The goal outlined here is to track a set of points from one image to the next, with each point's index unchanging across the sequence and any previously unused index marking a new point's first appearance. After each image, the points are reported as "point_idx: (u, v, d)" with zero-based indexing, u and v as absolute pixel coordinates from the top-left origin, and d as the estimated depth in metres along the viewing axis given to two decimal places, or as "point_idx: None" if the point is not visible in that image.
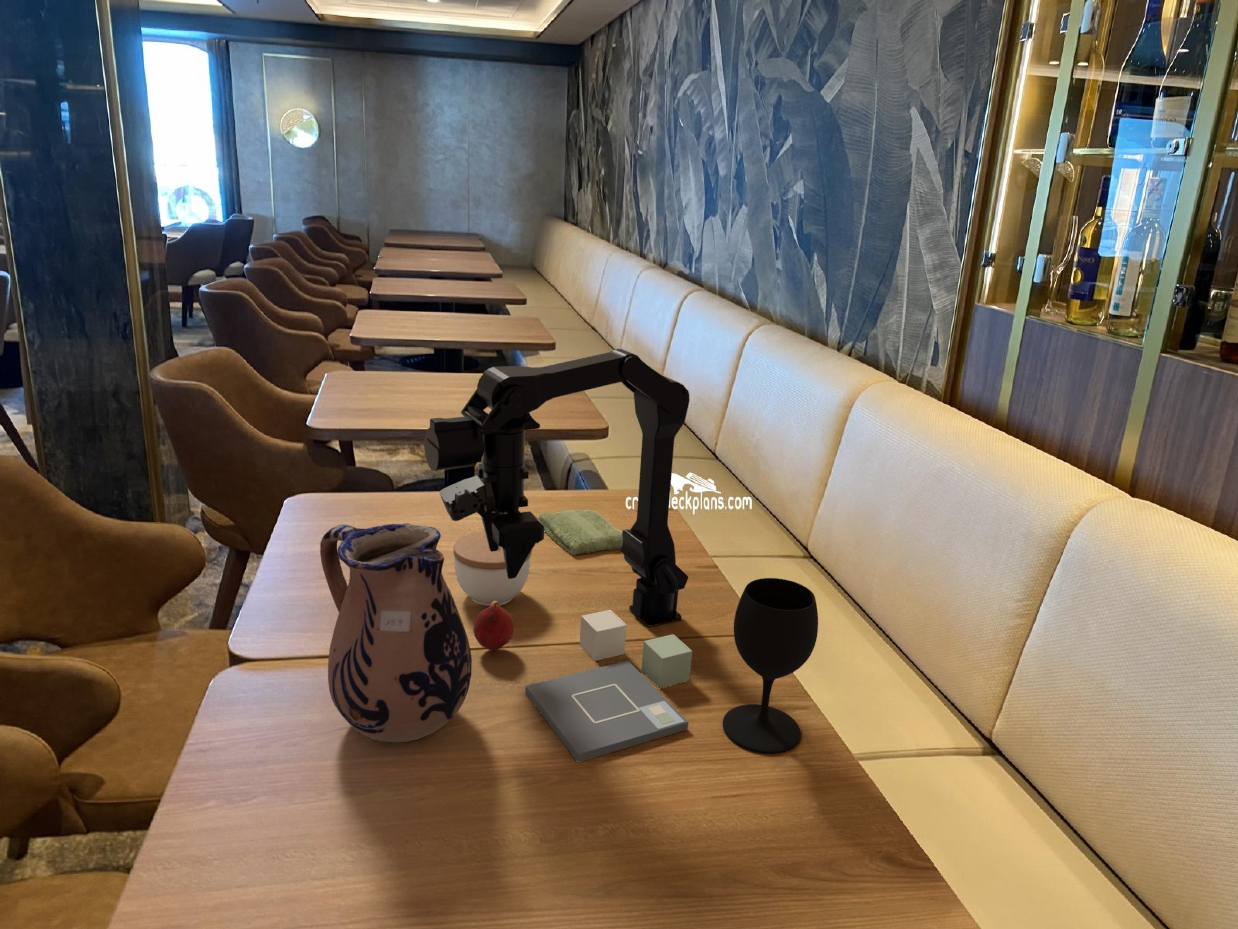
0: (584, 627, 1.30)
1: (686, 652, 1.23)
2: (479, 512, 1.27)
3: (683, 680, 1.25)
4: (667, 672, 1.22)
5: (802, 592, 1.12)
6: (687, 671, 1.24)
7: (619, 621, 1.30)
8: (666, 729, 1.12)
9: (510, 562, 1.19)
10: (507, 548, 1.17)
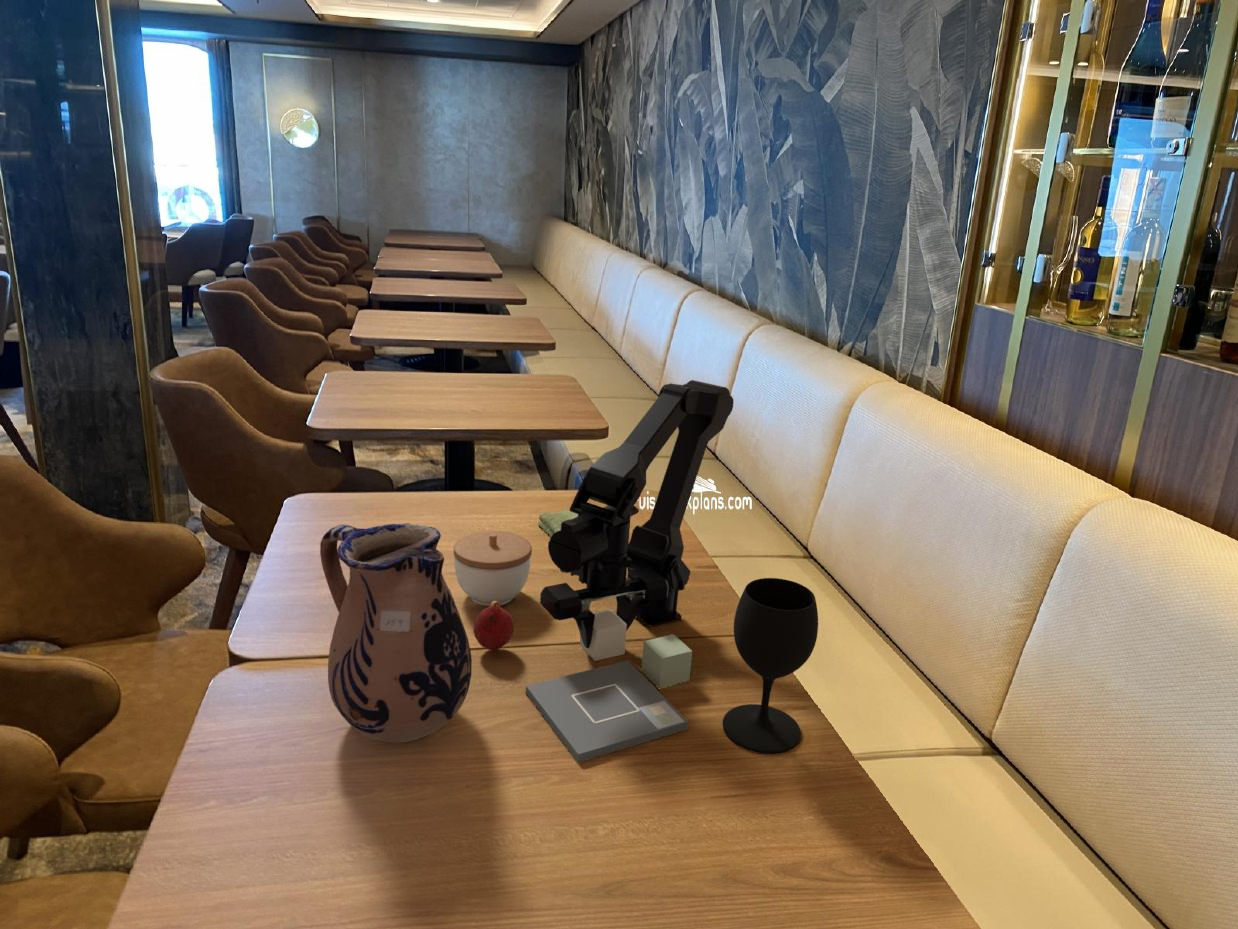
0: None
1: (686, 652, 1.23)
2: (616, 596, 1.33)
3: (683, 680, 1.25)
4: (667, 672, 1.22)
5: (802, 592, 1.12)
6: (687, 671, 1.24)
7: (619, 620, 1.30)
8: (666, 729, 1.12)
9: (579, 628, 1.29)
10: None
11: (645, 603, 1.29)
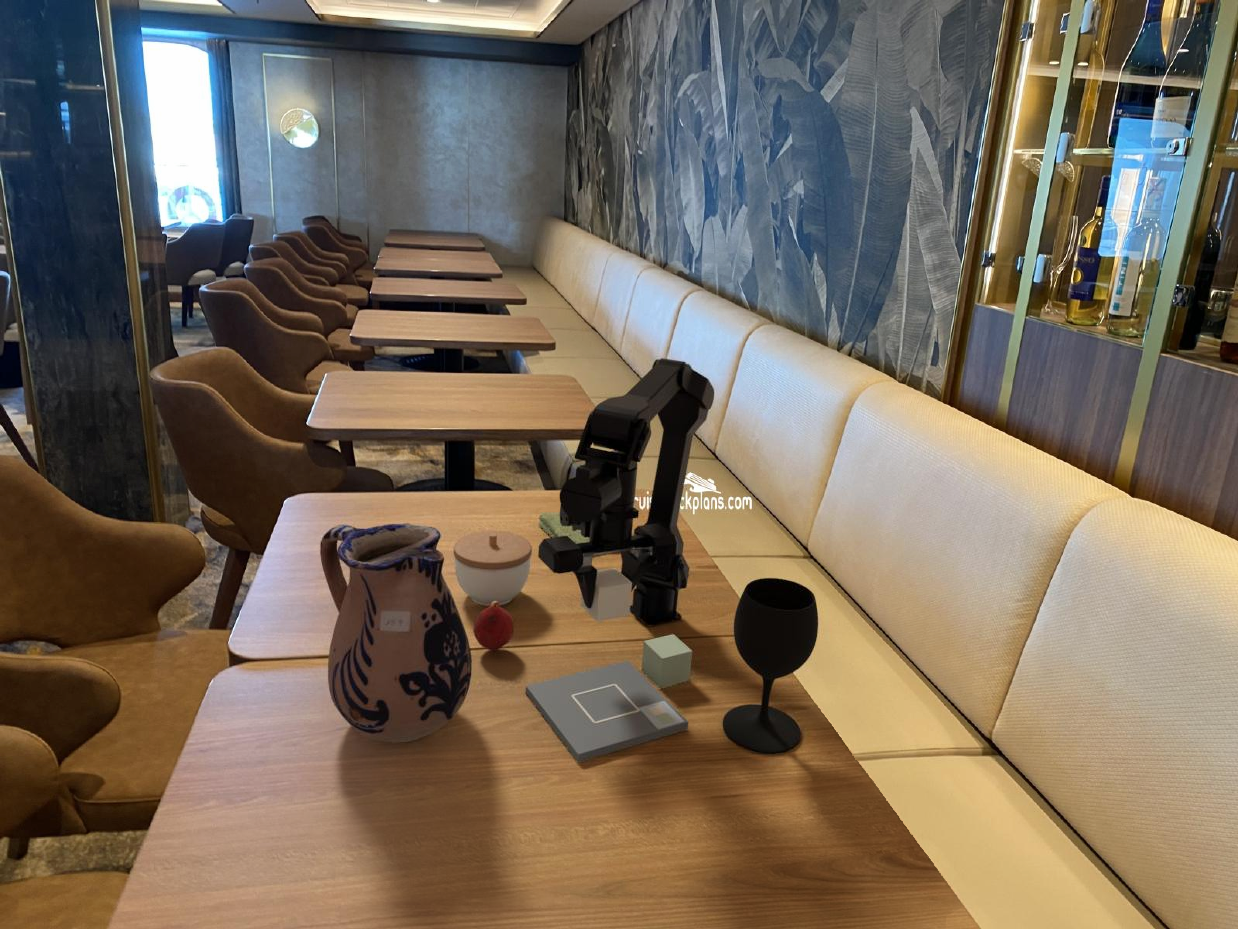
0: None
1: (686, 652, 1.23)
2: (621, 554, 1.22)
3: (683, 680, 1.25)
4: (667, 672, 1.22)
5: (802, 592, 1.12)
6: (687, 671, 1.24)
7: (624, 579, 1.20)
8: (666, 729, 1.12)
9: (580, 587, 1.19)
10: None
11: (652, 560, 1.19)
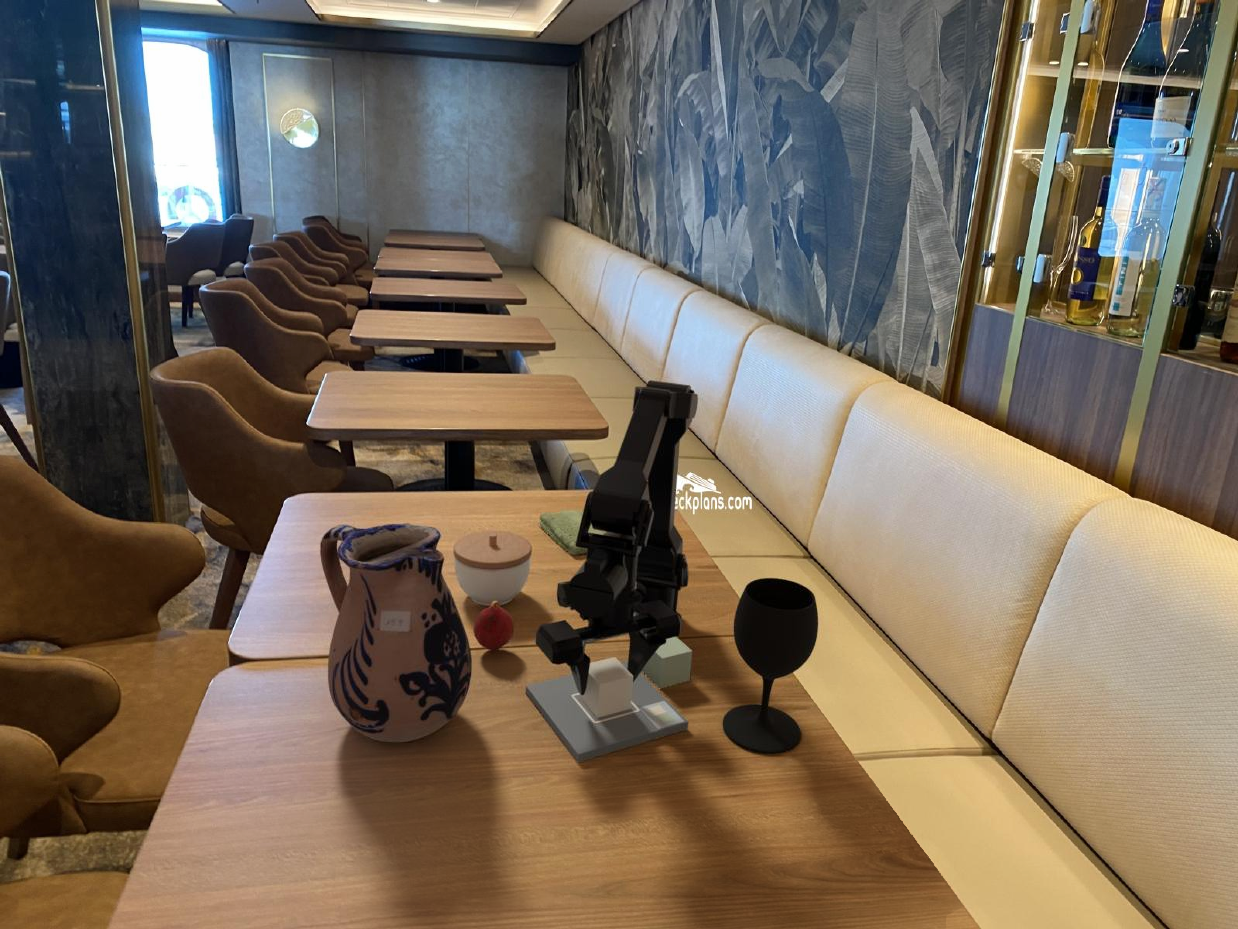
0: None
1: (686, 652, 1.23)
2: (629, 632, 1.17)
3: (683, 680, 1.25)
4: (667, 672, 1.22)
5: (802, 592, 1.12)
6: (687, 671, 1.24)
7: (625, 671, 1.15)
8: (666, 729, 1.12)
9: (573, 673, 1.13)
10: None
11: (662, 641, 1.14)
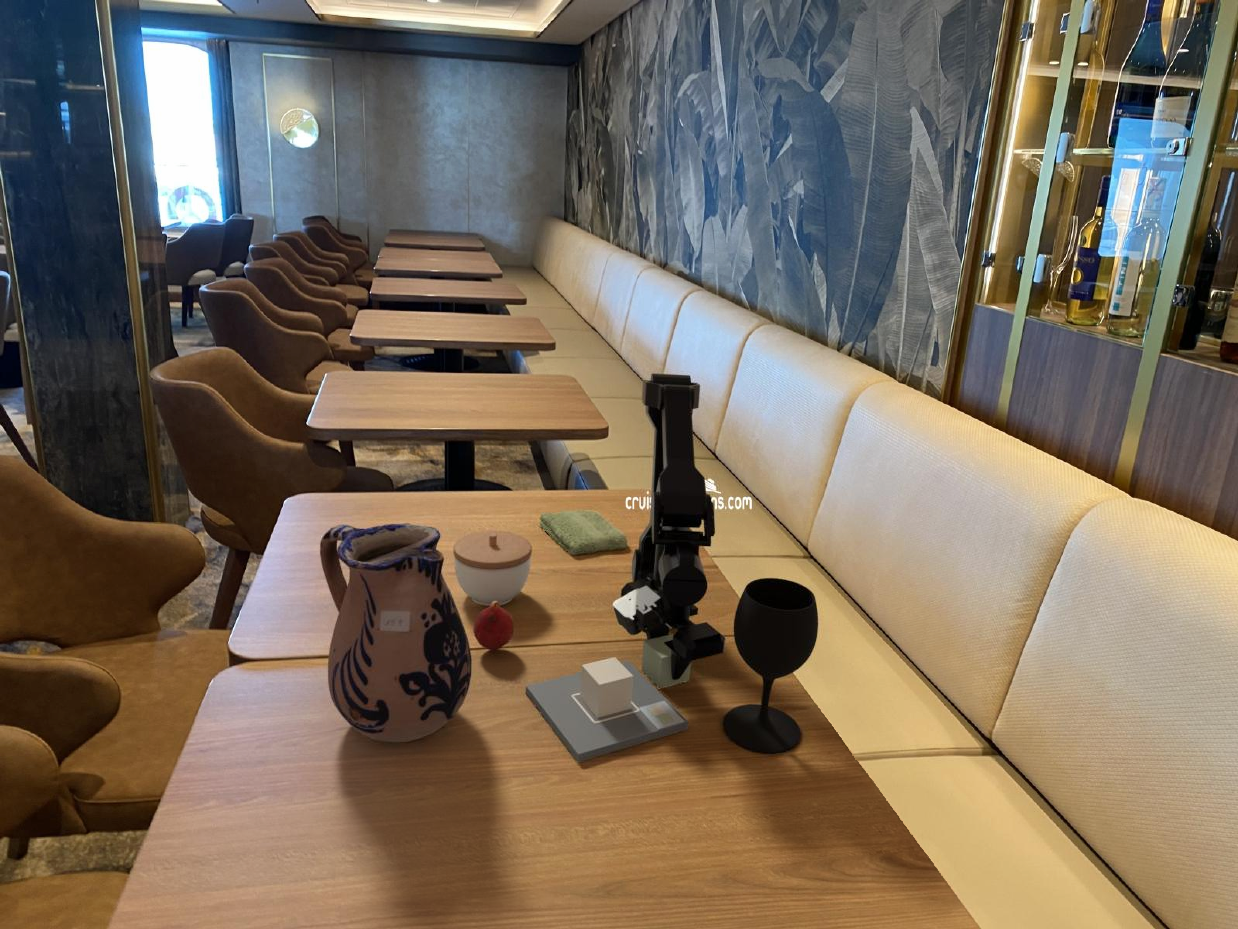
0: (585, 678, 1.15)
1: None
2: None
3: (683, 680, 1.25)
4: (667, 672, 1.22)
5: (802, 592, 1.12)
6: (687, 671, 1.24)
7: (625, 671, 1.15)
8: (666, 729, 1.12)
9: (678, 665, 1.21)
10: (678, 653, 1.20)
11: None
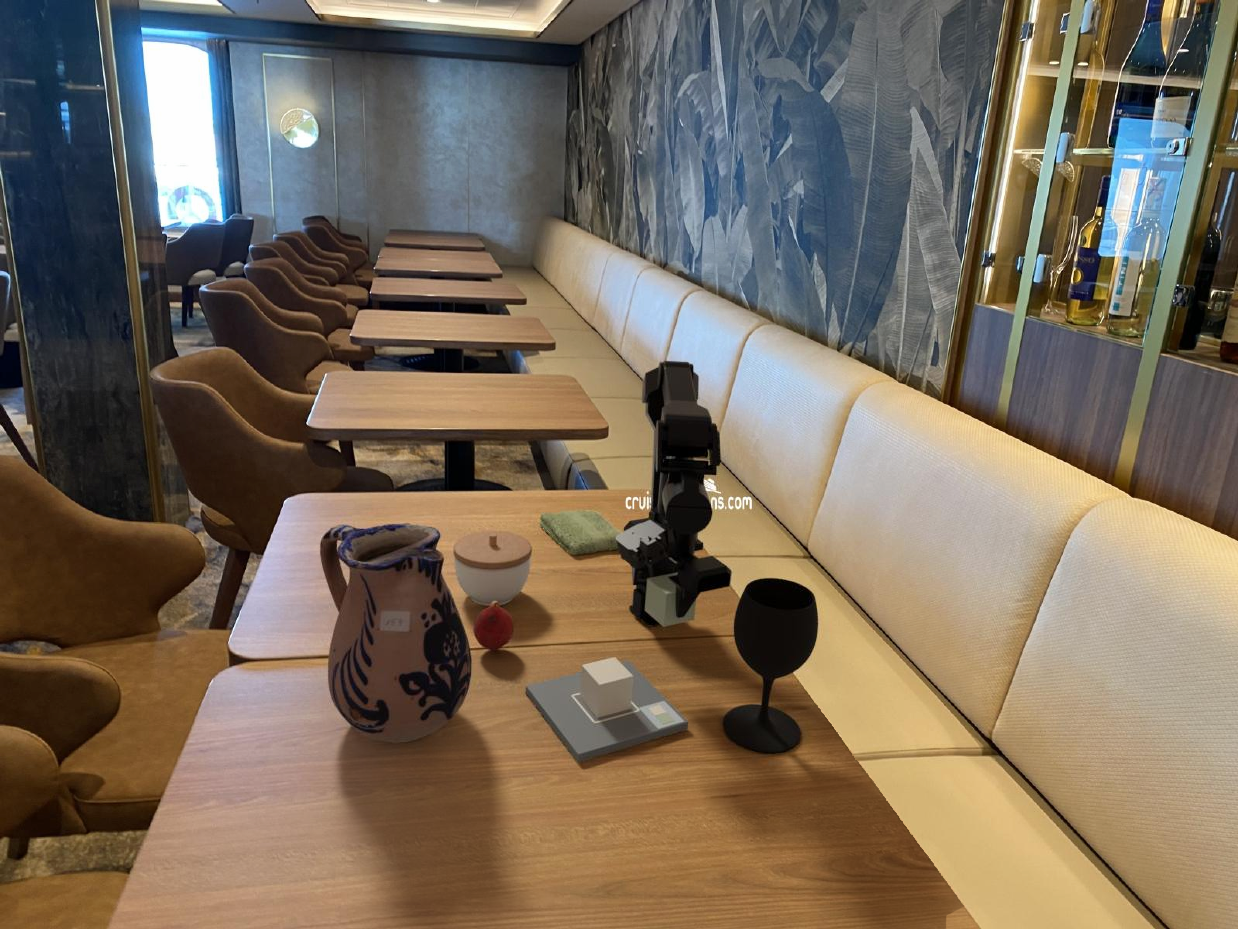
0: (585, 678, 1.15)
1: None
2: None
3: (688, 618, 1.21)
4: (671, 609, 1.19)
5: (802, 592, 1.12)
6: (692, 609, 1.21)
7: (625, 671, 1.15)
8: (666, 729, 1.12)
9: (682, 602, 1.18)
10: (683, 588, 1.16)
11: None
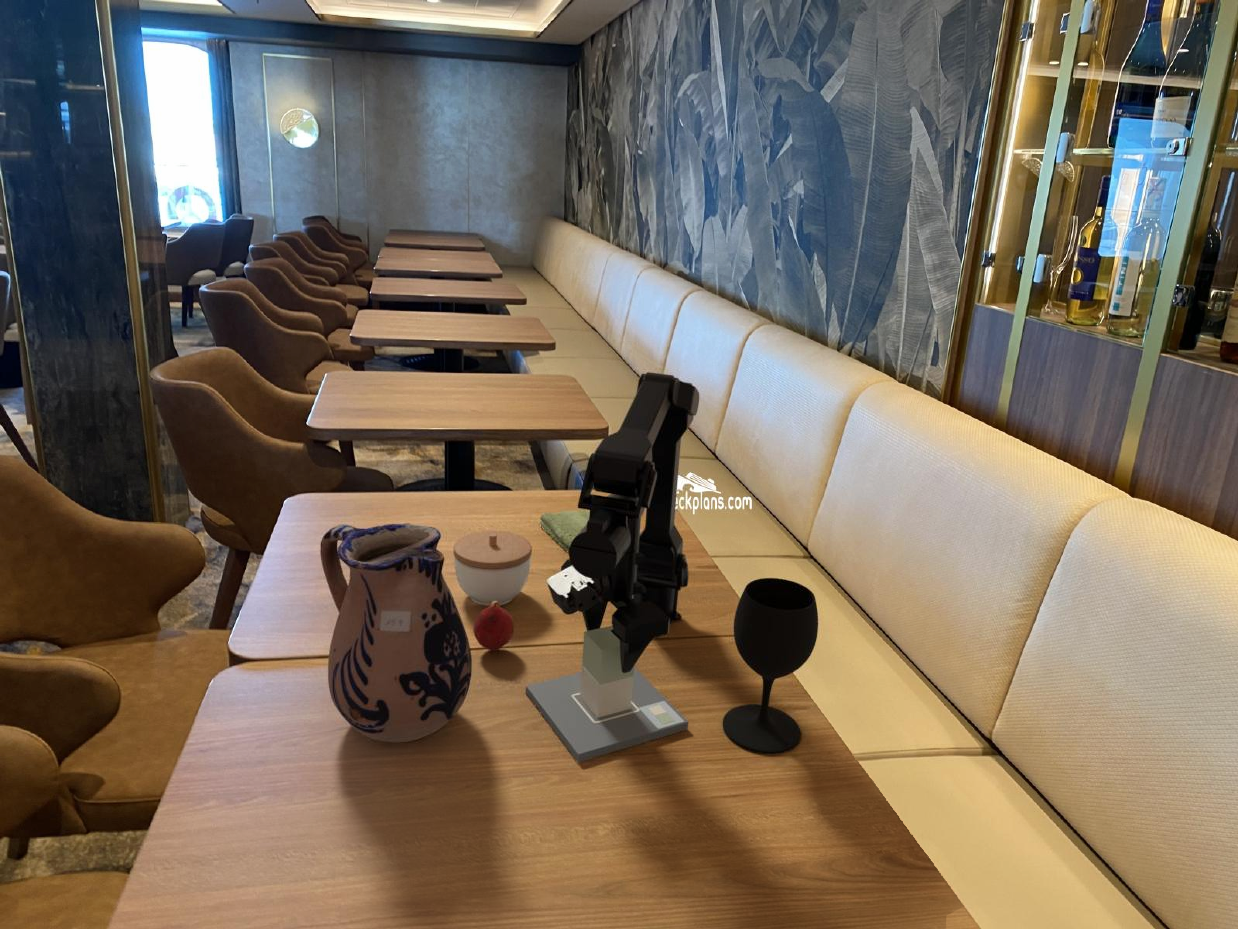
0: (585, 678, 1.15)
1: None
2: None
3: (627, 674, 1.14)
4: (608, 666, 1.11)
5: (802, 592, 1.12)
6: None
7: None
8: (666, 729, 1.12)
9: (627, 656, 1.08)
10: (627, 642, 1.06)
11: None
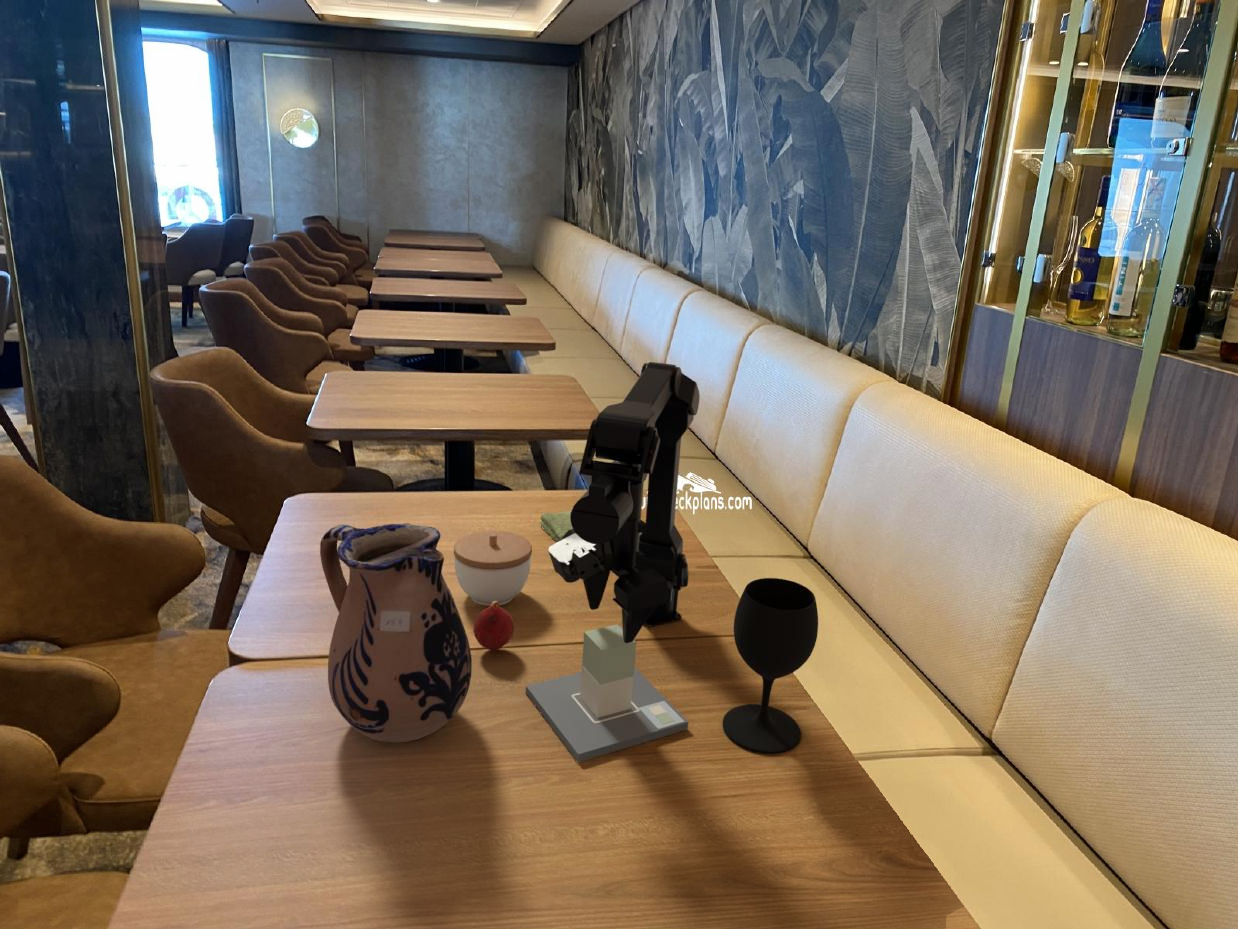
0: (585, 678, 1.15)
1: (629, 644, 1.12)
2: None
3: (627, 674, 1.14)
4: (608, 666, 1.11)
5: (802, 592, 1.12)
6: (631, 665, 1.13)
7: None
8: (666, 729, 1.12)
9: (629, 626, 1.07)
10: (630, 611, 1.05)
11: None
